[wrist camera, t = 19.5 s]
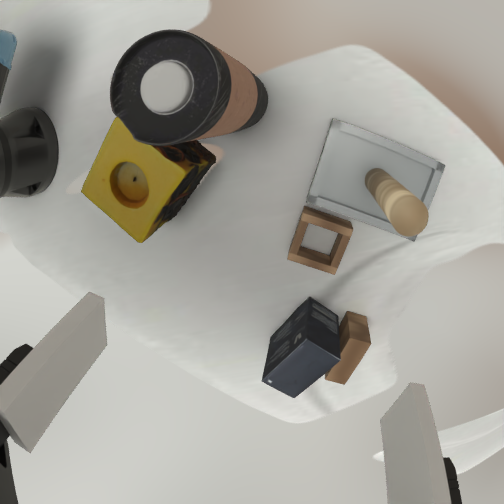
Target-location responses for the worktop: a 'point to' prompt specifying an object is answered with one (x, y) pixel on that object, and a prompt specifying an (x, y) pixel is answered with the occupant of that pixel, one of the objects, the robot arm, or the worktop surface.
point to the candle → (144, 180)
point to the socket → (314, 257)
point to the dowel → (397, 203)
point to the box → (302, 349)
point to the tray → (359, 164)
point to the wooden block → (350, 347)
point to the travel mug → (183, 90)
